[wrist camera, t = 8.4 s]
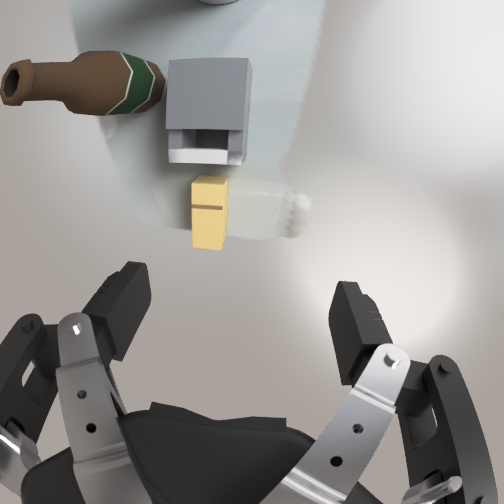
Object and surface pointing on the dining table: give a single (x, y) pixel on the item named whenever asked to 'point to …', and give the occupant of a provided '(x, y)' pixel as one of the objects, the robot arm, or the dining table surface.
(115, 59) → the beer bottle
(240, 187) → the dining table surface
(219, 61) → the dispenser
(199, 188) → the yellow rectangular block
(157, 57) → the dining table surface
